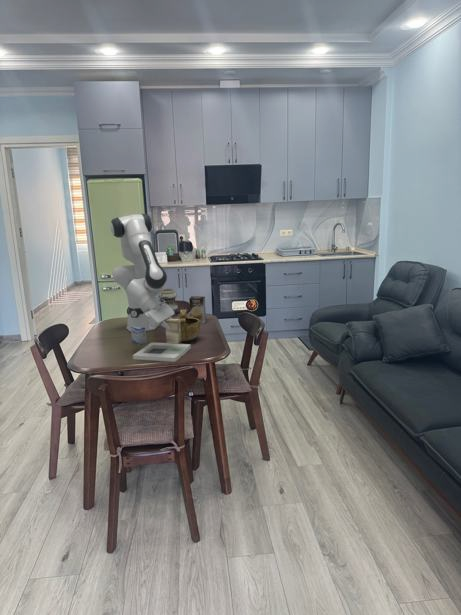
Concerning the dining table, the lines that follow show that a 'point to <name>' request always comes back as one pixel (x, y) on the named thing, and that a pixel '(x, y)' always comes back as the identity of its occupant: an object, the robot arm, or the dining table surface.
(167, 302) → the apothecary jar
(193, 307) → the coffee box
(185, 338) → the ceramic bowl
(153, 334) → the dining table surface
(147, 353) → the hole board
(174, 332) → the birch block
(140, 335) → the medicine box
